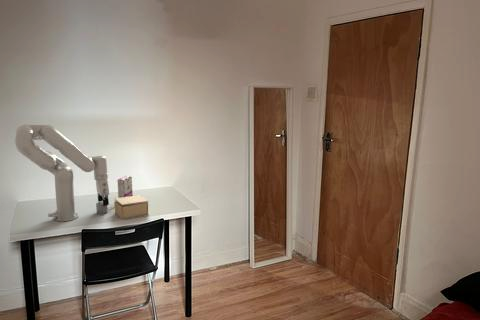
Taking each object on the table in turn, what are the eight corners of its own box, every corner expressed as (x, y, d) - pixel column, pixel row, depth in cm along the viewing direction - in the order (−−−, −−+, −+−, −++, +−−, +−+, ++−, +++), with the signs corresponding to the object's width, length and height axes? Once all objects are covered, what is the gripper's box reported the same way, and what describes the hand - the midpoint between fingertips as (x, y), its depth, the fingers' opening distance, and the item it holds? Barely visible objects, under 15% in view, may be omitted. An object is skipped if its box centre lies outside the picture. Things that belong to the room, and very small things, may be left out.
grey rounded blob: (98, 215, 223) (98, 205, 222) (95, 212, 228) (94, 202, 227) (109, 213, 227) (108, 203, 226) (105, 210, 232) (105, 201, 231)
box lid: (122, 205, 215) (122, 204, 215) (114, 199, 225) (114, 198, 225) (148, 202, 225) (148, 200, 225) (139, 196, 235) (139, 195, 235)
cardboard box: (122, 219, 217) (122, 207, 216) (114, 213, 227) (114, 201, 226) (148, 214, 227) (148, 202, 225) (139, 208, 237) (139, 197, 235)
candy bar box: (126, 198, 257) (125, 175, 253) (132, 199, 256) (132, 176, 252) (117, 203, 246) (117, 179, 242) (124, 203, 245) (124, 180, 241)
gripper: (112, 178, 219) (114, 205, 223) (102, 172, 232) (105, 198, 236) (99, 180, 214) (101, 208, 218) (90, 174, 228) (92, 200, 232)
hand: (103, 203), depth 227 cm, fingers open, 9 cm apart
